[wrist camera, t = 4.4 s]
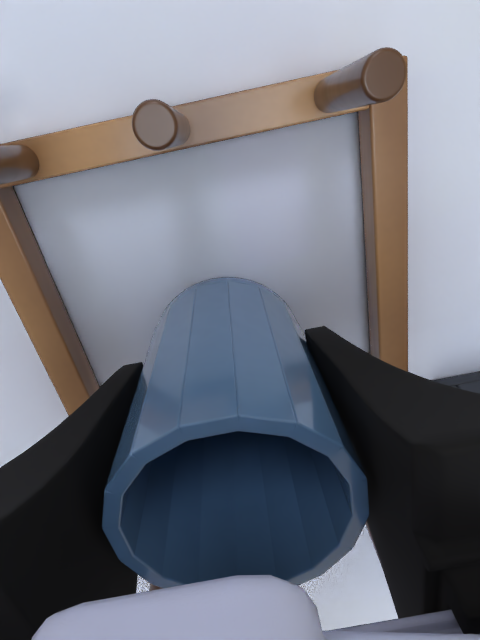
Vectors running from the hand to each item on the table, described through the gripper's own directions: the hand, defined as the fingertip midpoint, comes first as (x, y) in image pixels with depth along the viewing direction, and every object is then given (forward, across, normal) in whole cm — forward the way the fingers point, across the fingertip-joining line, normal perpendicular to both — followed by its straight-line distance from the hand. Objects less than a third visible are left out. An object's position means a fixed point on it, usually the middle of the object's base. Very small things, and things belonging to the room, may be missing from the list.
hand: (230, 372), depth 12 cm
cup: (+2, 0, 0) cm, 2 cm away
